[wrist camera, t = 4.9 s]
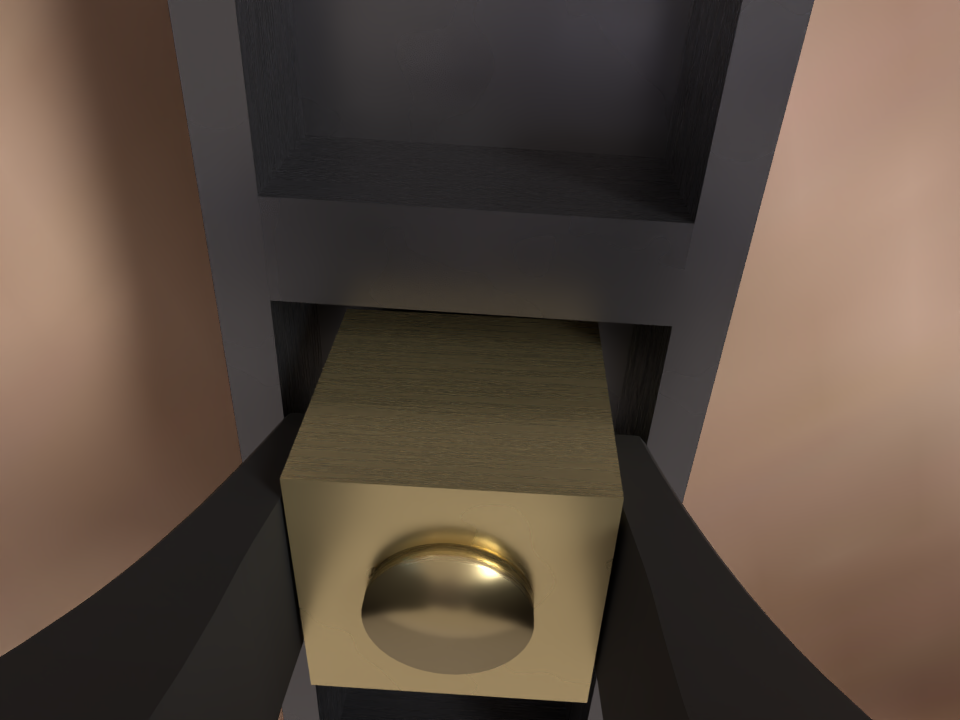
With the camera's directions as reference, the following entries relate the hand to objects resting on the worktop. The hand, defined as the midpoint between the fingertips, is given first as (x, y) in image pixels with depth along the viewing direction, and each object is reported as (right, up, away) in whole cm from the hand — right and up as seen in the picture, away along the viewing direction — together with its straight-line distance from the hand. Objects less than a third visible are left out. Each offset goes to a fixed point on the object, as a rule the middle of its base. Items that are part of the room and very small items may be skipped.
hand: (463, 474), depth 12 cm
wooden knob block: (0, +1, +1) cm, 2 cm away
